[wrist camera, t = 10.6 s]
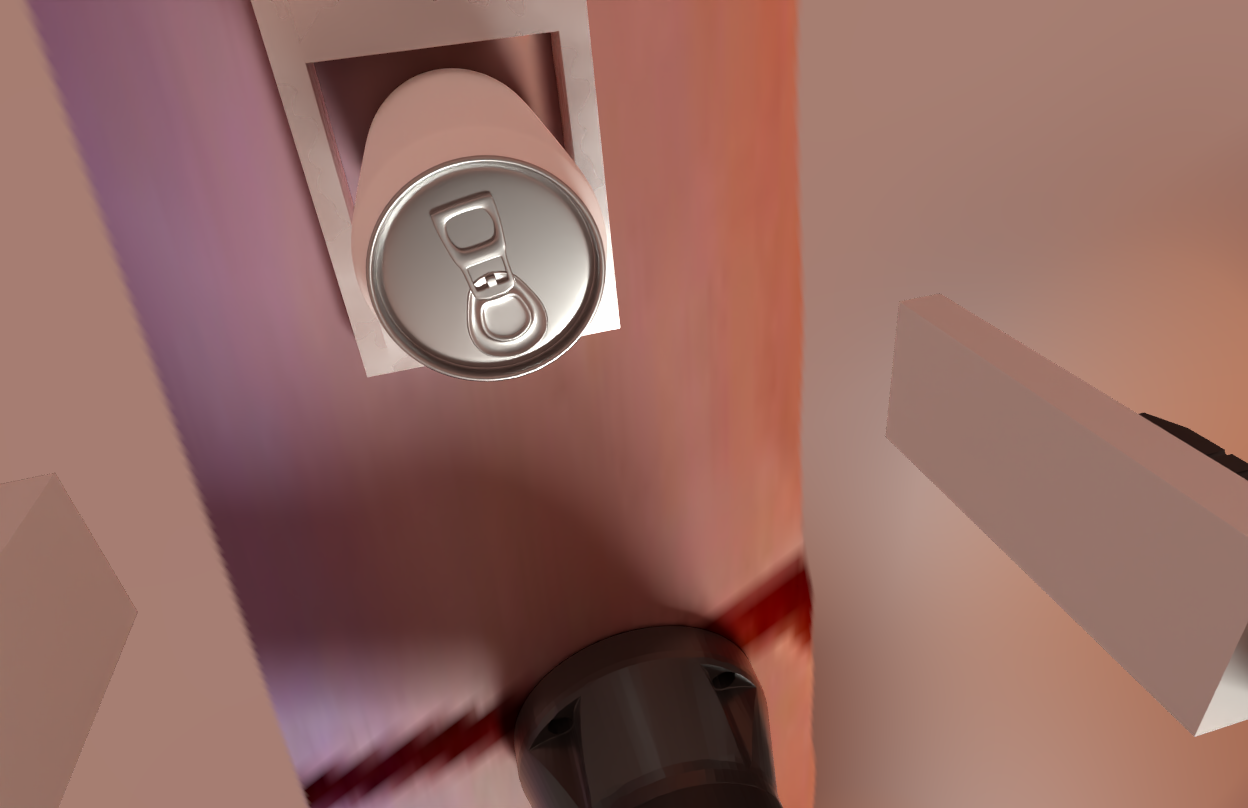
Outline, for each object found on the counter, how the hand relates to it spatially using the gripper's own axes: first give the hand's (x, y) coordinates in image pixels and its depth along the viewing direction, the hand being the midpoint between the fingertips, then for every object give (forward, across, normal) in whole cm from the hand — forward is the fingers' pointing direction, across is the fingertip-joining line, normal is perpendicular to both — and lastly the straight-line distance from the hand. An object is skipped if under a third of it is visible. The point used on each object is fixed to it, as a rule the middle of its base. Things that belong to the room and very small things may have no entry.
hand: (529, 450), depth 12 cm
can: (+19, 0, 0) cm, 19 cm away
